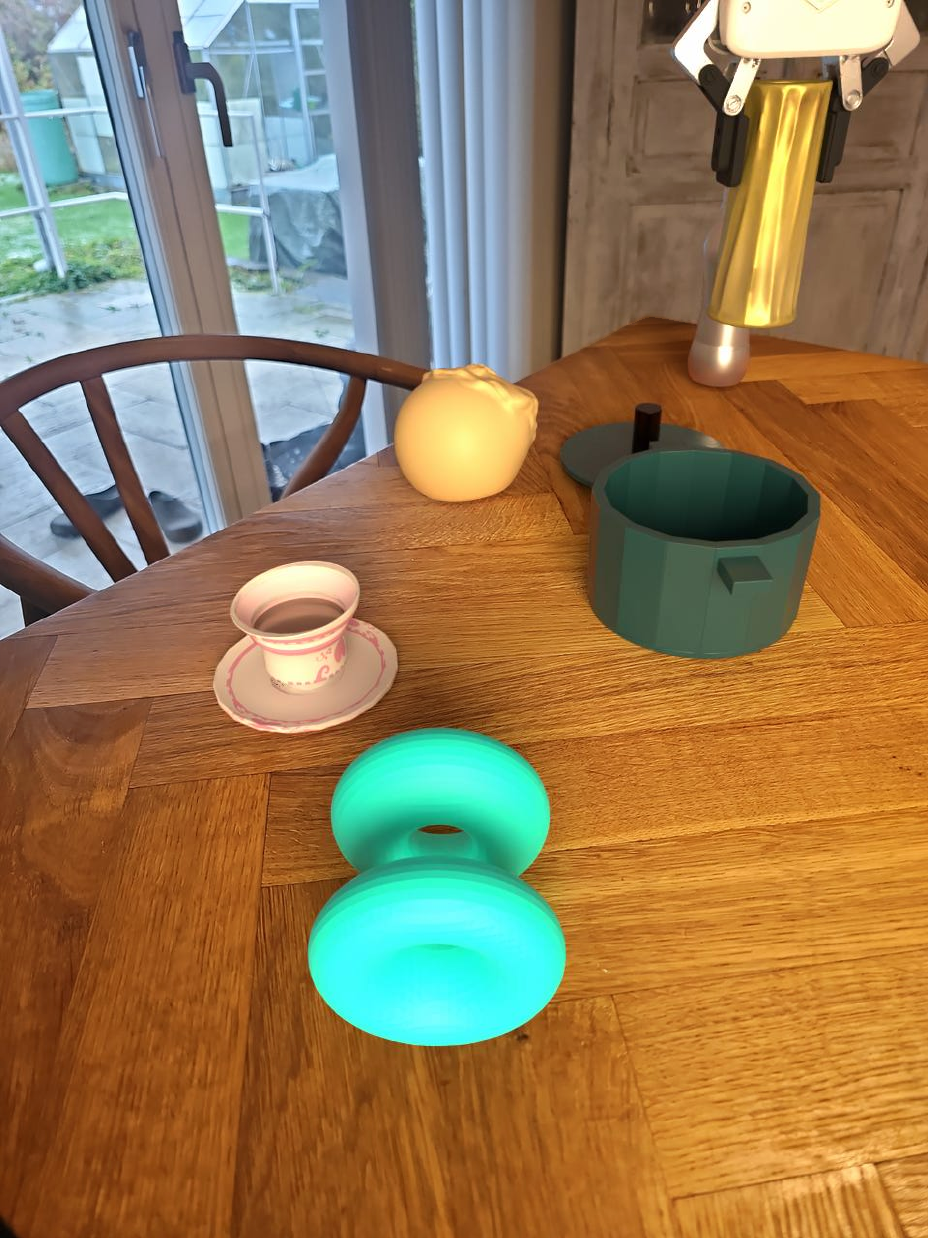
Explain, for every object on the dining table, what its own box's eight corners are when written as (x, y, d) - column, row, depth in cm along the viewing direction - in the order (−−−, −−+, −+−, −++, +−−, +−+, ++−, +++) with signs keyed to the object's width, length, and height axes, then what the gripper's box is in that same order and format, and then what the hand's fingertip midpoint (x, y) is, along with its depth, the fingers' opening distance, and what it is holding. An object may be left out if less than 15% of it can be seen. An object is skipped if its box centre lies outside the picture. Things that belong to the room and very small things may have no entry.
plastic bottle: (698, 369, 100) (723, 180, 88) (754, 380, 97) (788, 185, 85) (675, 386, 96) (698, 190, 84) (733, 398, 92) (765, 195, 81)
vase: (735, 300, 64) (769, 76, 56) (811, 315, 60) (859, 78, 52) (689, 318, 61) (718, 83, 52) (766, 335, 57) (810, 85, 49)
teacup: (348, 755, 49) (335, 673, 46) (176, 713, 53) (151, 633, 49) (426, 638, 58) (421, 561, 55) (275, 608, 62) (260, 534, 58)
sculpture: (554, 478, 78) (557, 362, 72) (471, 530, 70) (467, 405, 64) (458, 448, 84) (454, 338, 78) (373, 493, 77) (361, 376, 70)
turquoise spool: (321, 1062, 35) (283, 912, 29) (347, 864, 43) (322, 716, 37) (564, 1058, 35) (575, 906, 29) (544, 859, 43) (550, 710, 37)
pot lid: (701, 428, 86) (708, 373, 83) (753, 499, 73) (765, 437, 70) (548, 437, 85) (549, 382, 82) (575, 509, 73) (577, 448, 69)
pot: (742, 524, 70) (759, 426, 65) (847, 677, 53) (881, 562, 49) (566, 535, 69) (570, 437, 64) (618, 693, 53) (629, 578, 48)
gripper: (692, -208, 42) (656, 197, 52) (1033, -220, 42) (929, 185, 53) (656, -179, 48) (630, 179, 58) (954, -190, 48) (875, 168, 59)
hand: (772, 178), depth 55 cm, fingers closed on vase, 5 cm apart
